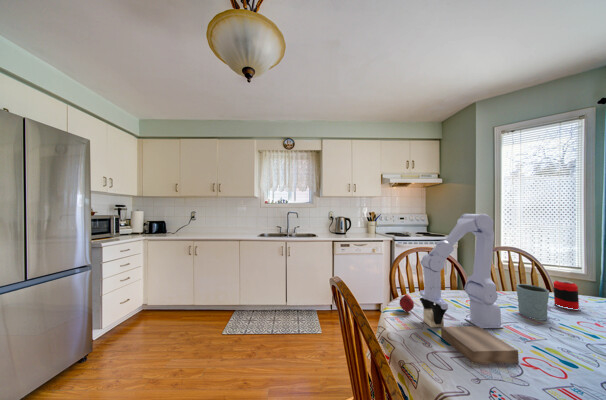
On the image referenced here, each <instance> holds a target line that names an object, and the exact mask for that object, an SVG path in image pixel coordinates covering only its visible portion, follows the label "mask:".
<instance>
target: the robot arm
mask: <svg viewBox="0 0 606 400" xmlns="http://www.w3.org/2000/svg"><path fill="white" fill-rule="evenodd" d="M456 222H457V223H456V225H455V226H454V227H453V229H452V230H451V231H450V232H449V234H448V235H447V237H446V238H445V239H444V240H439V241H437V242H436V243H435V245H434V247H433V248H432V250H431V251H429V252H428V254H427V253H426V254H425V255H423V256H422V257H421V260H420V265H421V266H422V269H423V279H424V280H423V281H424V282H423V284H424V289H423V290H421V289H420V290H419V294H420V295H419V296H421V297H420V298H419V301H420V303H421V304H422V306H423V309H426V308H432V311H433V315H434V322H435V324H441V322H442V319H443V316H444V315H445V313H446V312H447V310H449V306H448V305H449V304H448V303H447V302H445V300H444V299H443V298H442V284H441V283H442V282H441V277H442V276H441V271H442V270H443V269H444V267H445V262H446V260H447V258H449V257H450V255H451V254H452V253H453V251H455V250H454V249H455V248H454V246H455V245H456V244H457V242H458V241H460V239H462V238H463V237H464V236H465V235H466V234H467V233H472V234H473V235H474V236H475V237H476V238H475V239H476V240H475V241H476V242H475V251H474V260H473V270H472V275H469V276H468V277H467V280H466V282H465V284H464V291H465V293H466V294H467V298H469V316H470V317H464V319H465V320H466V321H468V322H469V323H471V324H473V325H474V326H479V327H481V328H482V329H503V328H504V326H503V325H502V316H501V315H502V314H501V313H502V312H501V308H500V306H499V304H498V303H497V300H498V291H497V285H496V284H495V283H494V281H493V280H492V279H491V274H492V264H493V263H492V261H493V251H494V242H495V241H494V240H495V231H494V220H493V218H492V217H491V216H490V215H488V214H487V213H463V214H462V215H461V216H460V218H458V219H457V221H456Z"/></svg>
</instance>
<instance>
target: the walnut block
mask: <svg viewBox="0 0 606 400" xmlns="http://www.w3.org/2000/svg"><path fill="white" fill-rule="evenodd" d="M440 335H441V339H443V340H444V341H445V342H446V343H448V344H449V345H450V346H452V347H453V348H454V349H455V350H456V351H457V352H458V353H460V354H461V355H463V357H465V358H466V359H467V360H468V359H469V360H470V361H469V360H468V361H469V362H471V363H472V362H473V363H480V364H481V363H482V364H481V365H484V364H517V363H520V361H519V350H518V348H515V347H514V346H512V345H510V344H509V343H507V342H505V341H504V340H502V339H501V338H498V337H497V336H496V335H493V334H492V333H491V332H488V331H487V330H485V328H481V327H479V326H476V325H474V326H473V325H471V326H469V325H468V326H444V327H440ZM473 363H472V364H473Z"/></svg>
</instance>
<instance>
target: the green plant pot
mask: <svg viewBox="0 0 606 400" xmlns="http://www.w3.org/2000/svg"><path fill="white" fill-rule="evenodd" d="M515 286H516V287H515V289H516V295H517V302H518V313H519V314H520V313H521V314H523V315H525V316H524V317H526V316H528V317H527V318H529V317H531V318H530V319H532V318H535V319H534V320H537V319H546V320H547V319H548V313H549V312H548V307H549V305H548V303H549V296H550V290H548V289H546V288H544V287H541V286H537V285H532V284H525V283H517V284H515ZM521 314H520V315H521ZM523 315H522V316H523Z"/></svg>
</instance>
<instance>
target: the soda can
mask: <svg viewBox="0 0 606 400" xmlns="http://www.w3.org/2000/svg"><path fill="white" fill-rule="evenodd" d="M552 285H553V299H554V300H553V302H554V305H555V304H557V305H560V306H563V307H568V308H573V309H578V308H579V309H580V301H579V288H578V287H579V286H578V285H577V284H576V283H575V282H573V281H570V280H565V279H556V280H555V281H554V282H553V283H552Z"/></svg>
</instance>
